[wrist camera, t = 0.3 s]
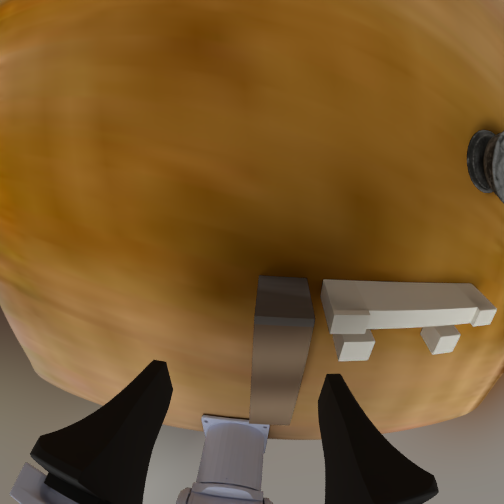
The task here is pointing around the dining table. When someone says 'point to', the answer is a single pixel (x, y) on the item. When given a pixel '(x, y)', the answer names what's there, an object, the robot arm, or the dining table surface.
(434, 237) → the dining table surface
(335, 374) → the robot arm
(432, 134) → the dining table surface
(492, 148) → the dark grey tall piece
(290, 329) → the block
